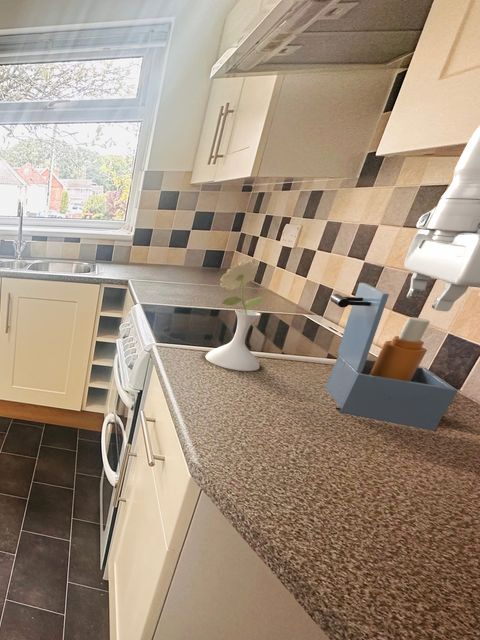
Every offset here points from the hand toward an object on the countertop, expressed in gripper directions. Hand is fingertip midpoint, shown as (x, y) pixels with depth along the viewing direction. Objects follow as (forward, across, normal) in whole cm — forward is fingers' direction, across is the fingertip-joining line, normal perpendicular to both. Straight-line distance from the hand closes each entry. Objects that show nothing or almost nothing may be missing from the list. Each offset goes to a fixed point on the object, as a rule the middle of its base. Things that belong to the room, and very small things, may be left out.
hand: (425, 304), depth 73 cm
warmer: (+22, 0, 0) cm, 22 cm away
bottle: (+21, 0, 0) cm, 21 cm away
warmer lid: (+5, 0, +7) cm, 9 cm away
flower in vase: (+22, +12, +24) cm, 35 cm away
